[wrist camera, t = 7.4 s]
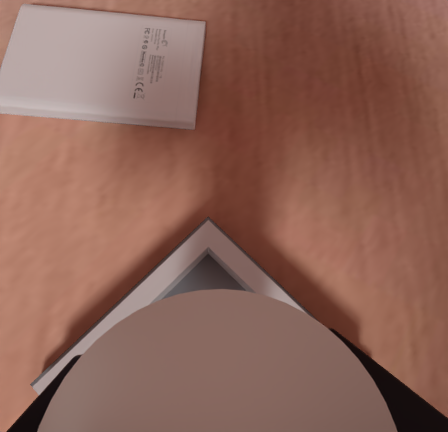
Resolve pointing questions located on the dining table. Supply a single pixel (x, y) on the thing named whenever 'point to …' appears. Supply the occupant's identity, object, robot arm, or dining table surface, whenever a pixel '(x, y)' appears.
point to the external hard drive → (103, 67)
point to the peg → (218, 373)
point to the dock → (182, 285)
